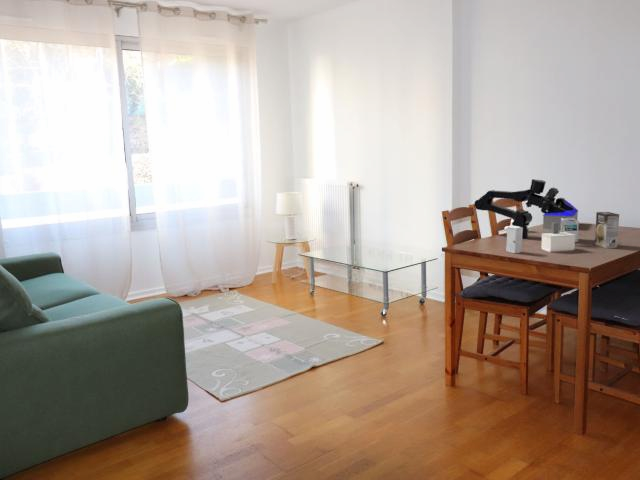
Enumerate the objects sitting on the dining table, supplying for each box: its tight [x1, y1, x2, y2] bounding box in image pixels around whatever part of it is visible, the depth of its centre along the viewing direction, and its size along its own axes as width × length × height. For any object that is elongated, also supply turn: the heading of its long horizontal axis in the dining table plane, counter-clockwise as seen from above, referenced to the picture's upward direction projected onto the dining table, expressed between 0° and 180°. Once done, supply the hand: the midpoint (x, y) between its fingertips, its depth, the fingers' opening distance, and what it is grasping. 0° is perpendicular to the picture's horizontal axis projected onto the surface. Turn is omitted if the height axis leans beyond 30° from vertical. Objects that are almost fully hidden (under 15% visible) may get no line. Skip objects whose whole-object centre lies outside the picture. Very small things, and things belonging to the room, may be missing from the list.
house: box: [542, 199, 579, 230], centre depth 336 cm, size 25×16×16 cm, turn 150°
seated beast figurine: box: [504, 209, 517, 231], centre depth 324 cm, size 10×9×12 cm
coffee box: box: [594, 211, 620, 249], centre depth 273 cm, size 9×6×16 cm
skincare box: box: [505, 225, 523, 254], centre depth 267 cm, size 6×4×12 cm
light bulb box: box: [560, 218, 580, 243], centre depth 291 cm, size 11×7×11 cm, turn 168°
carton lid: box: [541, 222, 576, 237], centre depth 268 cm, size 8×12×5 cm
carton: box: [540, 235, 576, 253], centre depth 269 cm, size 8×12×7 cm, turn 98°
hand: (569, 210), depth 283 cm, fingers open, 9 cm apart
